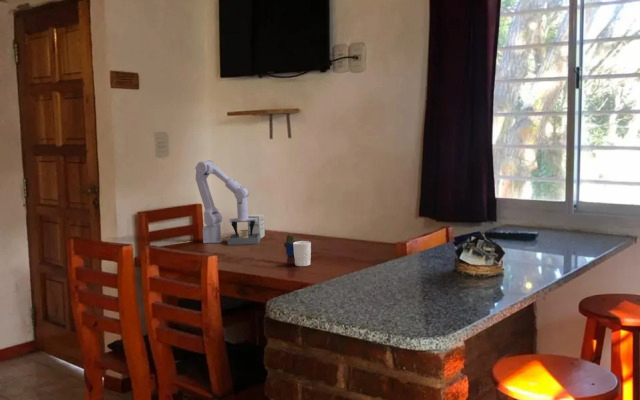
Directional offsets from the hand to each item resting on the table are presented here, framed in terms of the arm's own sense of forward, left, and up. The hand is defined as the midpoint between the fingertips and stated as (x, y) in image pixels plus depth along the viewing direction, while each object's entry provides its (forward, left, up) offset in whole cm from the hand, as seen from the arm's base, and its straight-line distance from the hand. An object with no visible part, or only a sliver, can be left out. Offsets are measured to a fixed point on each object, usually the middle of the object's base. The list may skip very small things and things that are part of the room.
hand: (244, 235), depth 348 cm
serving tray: (0, +1, -4) cm, 4 cm away
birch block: (0, 0, -3) cm, 3 cm away
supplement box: (+5, +16, -4) cm, 17 cm away
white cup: (+33, -58, -4) cm, 67 cm away
